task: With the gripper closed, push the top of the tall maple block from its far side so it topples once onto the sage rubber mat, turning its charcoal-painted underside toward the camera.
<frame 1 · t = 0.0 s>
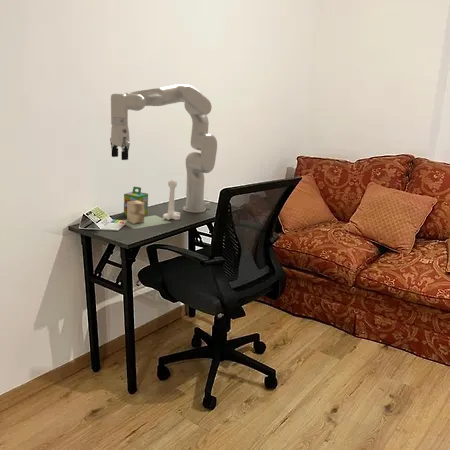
hand: (119, 158, 225), 31 cm above the table, fingers open, 9 cm apart
maple block: (135, 222, 232), resting on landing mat
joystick: (173, 218, 243), on the table, touching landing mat
chalk box: (136, 215, 246), on the table
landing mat: (145, 222, 234), on the table
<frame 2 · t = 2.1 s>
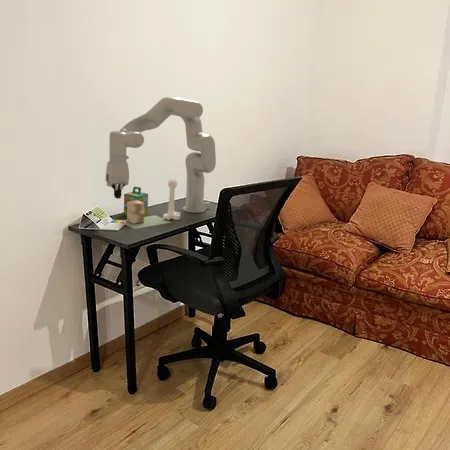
hand: (117, 197, 222), 14 cm above the table, fingers closed
nothing on the table moved.
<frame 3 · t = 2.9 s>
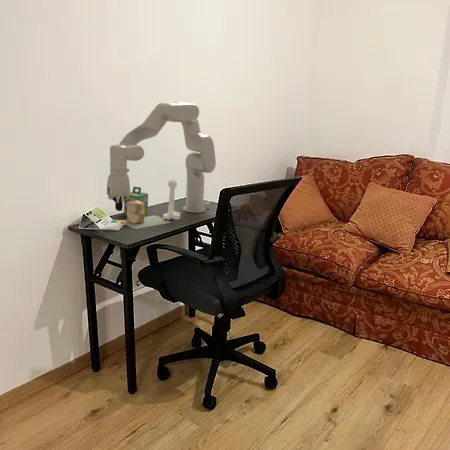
hand: (119, 210, 225), 8 cm above the table, fingers closed
nothing on the table moved.
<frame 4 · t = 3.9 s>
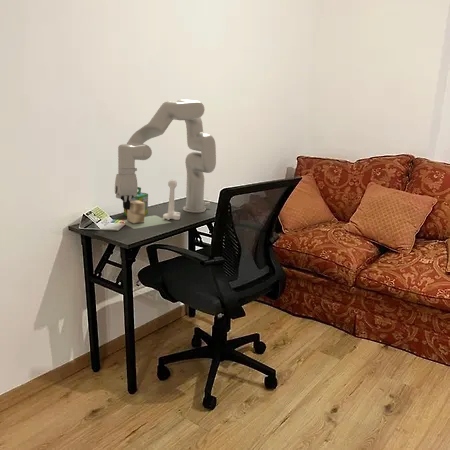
hand: (126, 209, 227), 8 cm above the table, fingers closed
maple block: (135, 222, 232), point 1 cm above the table, touching gripper, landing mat
everything else where it was.
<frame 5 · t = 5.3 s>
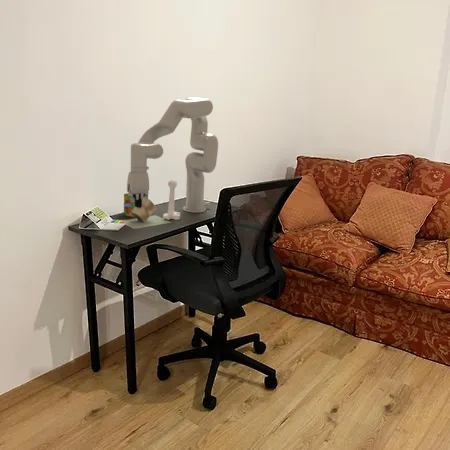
hand: (138, 206, 231), 8 cm above the table, fingers closed
maple block: (137, 217, 232), point 3 cm above the table, tilted 47°, touching gripper, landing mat
everything else where it was.
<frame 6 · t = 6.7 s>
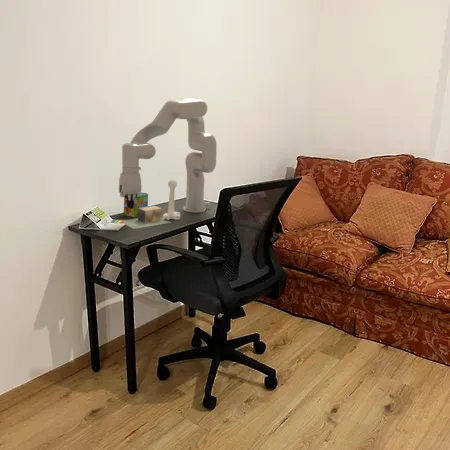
hand: (130, 207, 228), 8 cm above the table, fingers closed
maple block: (141, 215, 233), point 3 cm above the table, tilted 90°, touching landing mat
everything else where it was.
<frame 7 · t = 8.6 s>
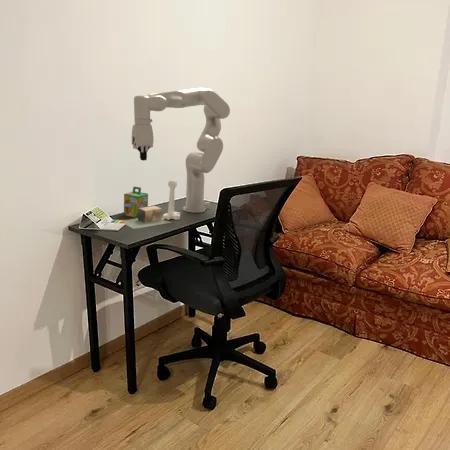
hand: (143, 159, 234), 29 cm above the table, fingers closed
nothing on the table moved.
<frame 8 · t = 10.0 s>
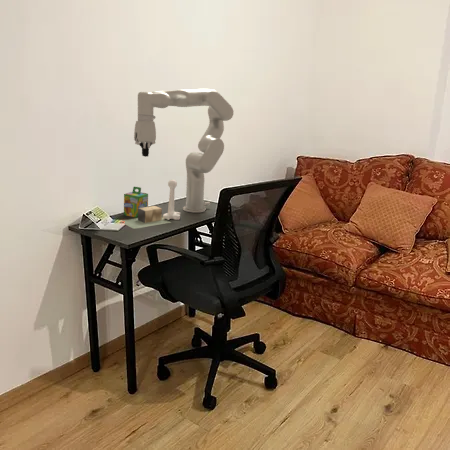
hand: (145, 156, 235), 31 cm above the table, fingers closed
nothing on the table moved.
at the end: maple block tilted 90°; maple block inside the target area (0.5 cm from its centre), point 3.4 cm above the table; maple block touching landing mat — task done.
